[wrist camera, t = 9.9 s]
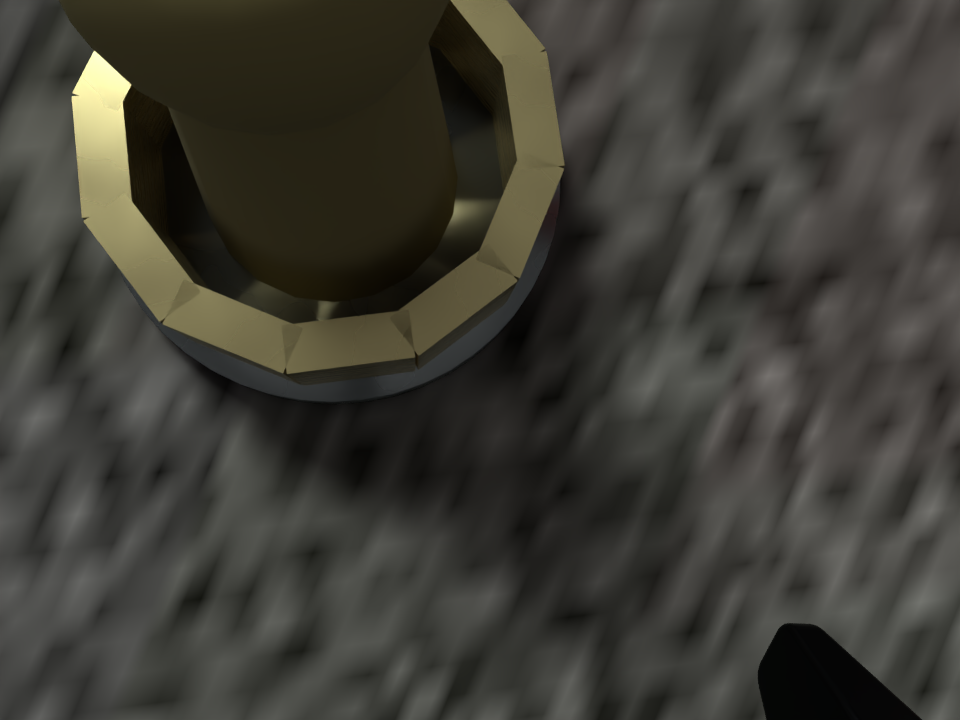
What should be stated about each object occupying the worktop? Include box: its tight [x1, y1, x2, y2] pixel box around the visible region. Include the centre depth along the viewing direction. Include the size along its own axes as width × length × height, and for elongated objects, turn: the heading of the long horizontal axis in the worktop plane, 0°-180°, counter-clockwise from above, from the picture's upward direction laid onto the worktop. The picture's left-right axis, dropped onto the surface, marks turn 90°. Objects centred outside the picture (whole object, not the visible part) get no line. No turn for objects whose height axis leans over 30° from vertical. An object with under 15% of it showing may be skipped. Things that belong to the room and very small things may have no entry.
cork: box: [59, 0, 458, 302], centre depth 14 cm, size 6×6×11 cm
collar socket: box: [72, 0, 565, 404], centre depth 18 cm, size 11×11×3 cm
